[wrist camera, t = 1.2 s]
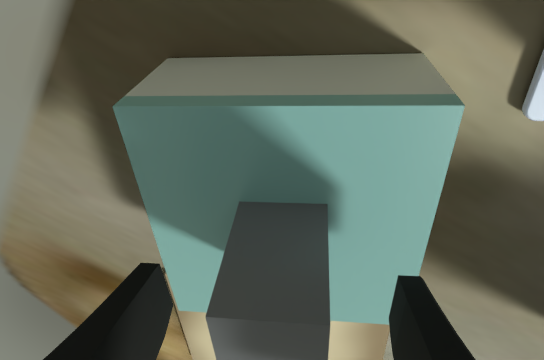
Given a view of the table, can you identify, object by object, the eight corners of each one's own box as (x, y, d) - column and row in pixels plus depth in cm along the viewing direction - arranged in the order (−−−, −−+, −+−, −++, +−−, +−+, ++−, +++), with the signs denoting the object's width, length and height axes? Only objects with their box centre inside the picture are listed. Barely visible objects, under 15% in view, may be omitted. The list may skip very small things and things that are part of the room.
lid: (447, 83, 11) (552, 216, 6) (398, 294, 17) (431, 450, 12) (134, 87, 12) (6, 199, 7) (188, 282, 18) (138, 420, 13)
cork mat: (398, 282, 21) (399, 286, 21) (378, 371, 27) (378, 375, 26) (166, 270, 23) (164, 273, 22) (194, 356, 28) (193, 360, 28)
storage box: (423, 53, 14) (455, 93, 10) (387, 244, 19) (401, 309, 16) (167, 58, 15) (124, 96, 11) (205, 237, 20) (183, 296, 17)
